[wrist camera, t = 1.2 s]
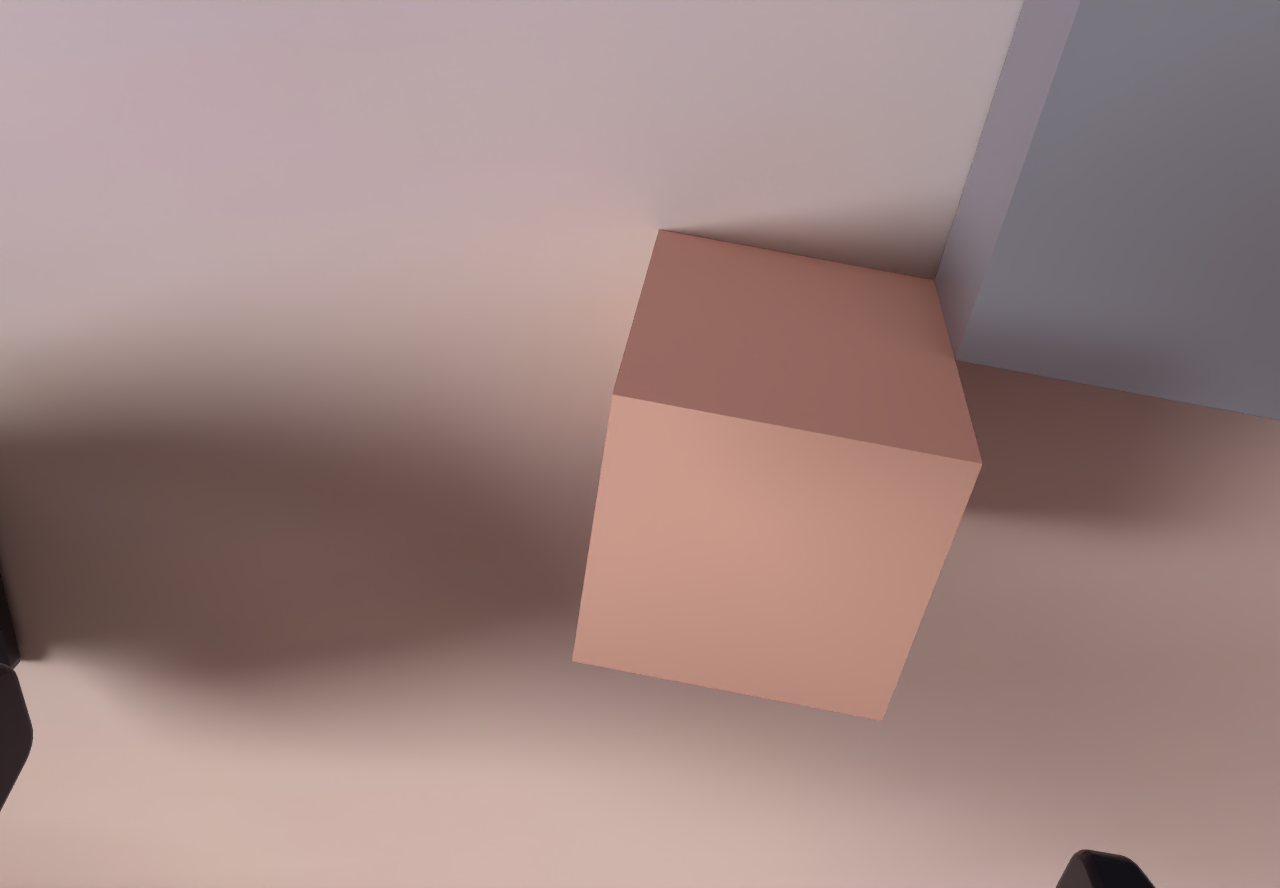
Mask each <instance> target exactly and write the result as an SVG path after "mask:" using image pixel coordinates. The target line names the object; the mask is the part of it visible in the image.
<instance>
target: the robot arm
mask: <svg viewBox="0 0 1280 888" xmlns="http://www.w3.org/2000/svg"><path fill="white" fill-rule="evenodd" d="M19 662H20V654H19V650H18V645H17V641H16V637H15V633H14V629H13V625H12V621H11V617H10V613H9V608H8V604H7V600H6V596H5V592H4V588H3V584H2V580H1V575H0V811H1V809H2V807H3V805H4V803H5V801H6V799H7V798H8V796H9V794H10V792H11V790H12V788H13V786H14V784H15V782H16V780H17V778H18V776H19V774H20V772H21V770H22V768H23V766H24V764H25V762H26V760H27V758H28V756H29V753H30V750H31V746H32V741H33V728H32V724H31V720H30V717H29V714H28V710H27V707H26V704H25V700H24V697H23V693H22V690H21V687H20V683H19V680H18V677H17V675H16V672H15V671H14V670H13V669H14V668H15V667H16V666H17V664H18V663H19ZM1056 888H1155V886H1154V885H1153V884H1152V883H1151V881H1150V880H1149V879H1148V878H1147V876H1146V875H1145V874H1144V872H1143V871H1142V870H1141V869H1140V868H1139V866H1138V865H1137V864H1136V863H1134V862H1133V861H1132V860H1131V859H1129V858H1127V857H1124V856H1121V855H1116V854H1111V853H1105V852H1099V851H1093V850H1080V851H1078V852H1077V853H1075V854H1074V855H1073V857H1072V858H1071V859H1070V861H1069V863H1068V865H1067V867H1066V869H1065V871H1064V873H1063V875H1062V877H1061V878H1060V880H1059V882H1058V884H1057V886H1056Z"/></svg>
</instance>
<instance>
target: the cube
mask: <svg viewBox="0 0 1280 888" xmlns="http://www.w3.org/2000/svg"><path fill="white" fill-rule="evenodd" d="M982 465H983V463H982V459H981V456H980V452H979V448H978V444H977V441H976V437H975V433H974V429H973V425H972V422H971V418H970V414H969V410H968V407H967V403H966V399H965V395H964V392H963V388H962V384H961V380H960V377H959V373H958V369H957V365H956V362H955V358H954V354H953V351H952V347H951V343H950V339H949V335H948V332H947V328H946V324H945V320H944V317H943V313H942V309H941V305H940V301H939V298H938V294H937V290H936V286H935V283H934V280H930V279H924V278H919V277H914V276H908V275H903V274H897V273H892V272H887V271H881V270H876V269H870V268H865V267H859V266H854V265H849V264H843V263H838V262H832V261H827V260H821V259H816V258H811V257H805V256H800V255H794V254H789V253H784V252H778V251H773V250H767V249H762V248H756V247H751V246H746V245H740V244H735V243H729V242H724V241H719V240H713V239H708V238H702V237H697V236H691V235H686V234H681V233H675V232H670V231H664V230H659V231H658V235H657V238H656V242H655V246H654V249H653V253H652V256H651V260H650V263H649V267H648V270H647V274H646V277H645V281H644V284H643V288H642V292H641V295H640V299H639V302H638V306H637V309H636V313H635V316H634V320H633V323H632V327H631V330H630V334H629V337H628V341H627V345H626V348H625V352H624V355H623V359H622V362H621V366H620V369H619V373H618V376H617V380H616V383H615V387H614V390H613V394H612V400H611V407H610V413H609V420H608V427H607V433H606V440H605V446H604V453H603V459H602V466H601V473H600V479H599V486H598V492H597V499H596V505H595V512H594V519H593V525H592V532H591V538H590V545H589V551H588V558H587V565H586V571H585V578H584V584H583V591H582V597H581V604H580V611H579V617H578V624H577V630H576V637H575V644H574V650H573V657H572V661H573V662H578V663H584V664H589V665H594V666H599V667H604V668H609V669H615V670H620V671H625V672H630V673H635V674H641V675H646V676H651V677H656V678H661V679H666V680H672V681H677V682H682V683H687V684H692V685H697V686H703V687H708V688H713V689H718V690H723V691H729V692H734V693H739V694H744V695H749V696H754V697H760V698H765V699H770V700H775V701H780V702H785V703H791V704H796V705H801V706H806V707H811V708H817V709H822V710H827V711H832V712H837V713H842V714H848V715H853V716H858V717H863V718H868V719H873V720H879V721H882V720H883V718H884V715H885V713H886V710H887V707H888V705H889V702H890V700H891V697H892V695H893V692H894V690H895V687H896V684H897V682H898V679H899V677H900V674H901V672H902V669H903V667H904V664H905V661H906V659H907V656H908V654H909V651H910V649H911V646H912V644H913V641H914V638H915V636H916V633H917V631H918V628H919V626H920V623H921V620H922V618H923V615H924V613H925V610H926V608H927V605H928V603H929V600H930V597H931V595H932V592H933V590H934V587H935V585H936V582H937V580H938V577H939V574H940V572H941V569H942V567H943V564H944V562H945V559H946V557H947V554H948V551H949V549H950V546H951V544H952V541H953V539H954V536H955V534H956V531H957V528H958V526H959V523H960V521H961V518H962V516H963V513H964V511H965V508H966V505H967V503H968V500H969V498H970V495H971V493H972V490H973V488H974V485H975V482H976V480H977V477H978V475H979V472H980V470H981V467H982Z"/></svg>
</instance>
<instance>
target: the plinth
mask: <svg viewBox="0 0 1280 888" xmlns="http://www.w3.org/2000/svg"><path fill="white" fill-rule="evenodd" d="M934 283H935V286H936V290H937V294H938V298H939V301H940V305H941V309H942V313H943V317H944V320H945V324H946V328H947V332H948V335H949V339H950V343H951V347H952V351H953V354H954V358H955V360H957V361H962V362H968V363H973V364H978V365H984V366H989V367H995V368H1000V369H1005V370H1011V371H1016V372H1022V373H1027V374H1032V375H1038V376H1043V377H1049V378H1054V379H1059V380H1065V381H1070V382H1076V383H1081V384H1086V385H1092V386H1097V387H1103V388H1108V389H1113V390H1119V391H1124V392H1130V393H1135V394H1140V395H1146V396H1151V397H1157V398H1162V399H1167V400H1173V401H1178V402H1184V403H1189V404H1194V405H1200V406H1205V407H1211V408H1216V409H1221V410H1227V411H1232V412H1238V413H1243V414H1248V415H1254V416H1259V417H1265V418H1270V419H1275V420H1280V0H1025V1H1024V4H1023V7H1022V10H1021V13H1020V16H1019V19H1018V22H1017V25H1016V28H1015V32H1014V35H1013V38H1012V41H1011V44H1010V47H1009V50H1008V53H1007V56H1006V59H1005V63H1004V66H1003V69H1002V72H1001V75H1000V78H999V81H998V84H997V87H996V91H995V94H994V97H993V100H992V103H991V106H990V109H989V112H988V115H987V118H986V122H985V125H984V128H983V131H982V134H981V137H980V140H979V143H978V146H977V150H976V153H975V156H974V159H973V162H972V165H971V168H970V171H969V174H968V177H967V181H966V184H965V187H964V190H963V193H962V196H961V199H960V202H959V205H958V208H957V212H956V215H955V218H954V221H953V224H952V227H951V230H950V233H949V236H948V240H947V243H946V246H945V249H944V252H943V255H942V258H941V261H940V264H939V267H938V271H937V274H936V277H935V280H934Z"/></svg>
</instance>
